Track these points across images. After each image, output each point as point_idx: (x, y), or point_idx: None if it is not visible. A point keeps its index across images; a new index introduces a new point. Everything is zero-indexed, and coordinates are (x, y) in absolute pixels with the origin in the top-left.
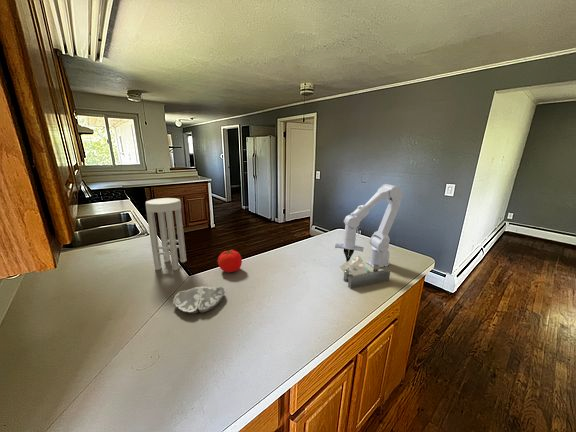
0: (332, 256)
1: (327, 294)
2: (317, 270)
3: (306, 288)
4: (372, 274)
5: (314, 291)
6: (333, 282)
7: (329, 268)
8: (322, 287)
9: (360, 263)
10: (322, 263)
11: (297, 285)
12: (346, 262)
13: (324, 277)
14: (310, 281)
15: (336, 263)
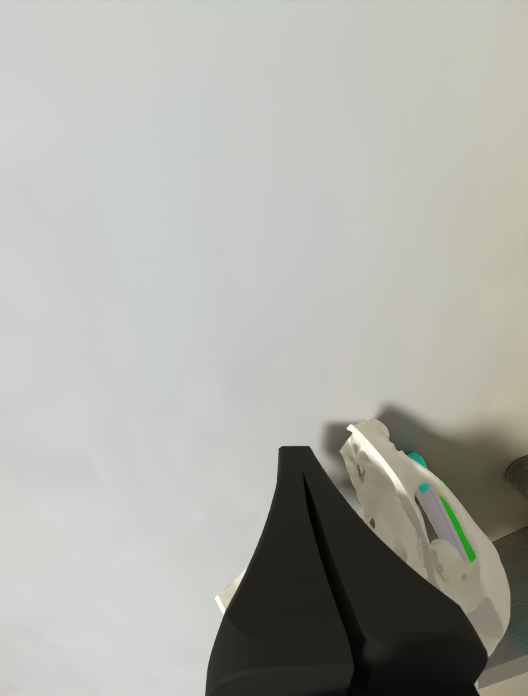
0: (32, 182)
1: (202, 691)
2: (43, 550)
3: (86, 689)
4: (500, 679)
5: (135, 693)
6: (208, 624)
7: (124, 497)
8: (161, 667)
9: None
10: (15, 434)
11: (27, 687)
12: None
13: (135, 603)
14: (72, 650)
15: (159, 387)
